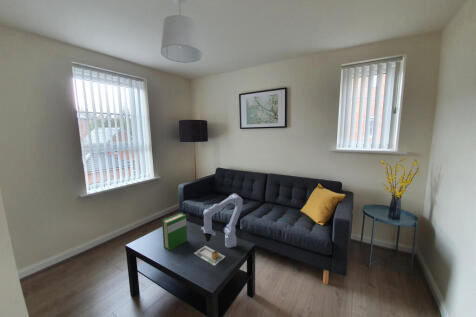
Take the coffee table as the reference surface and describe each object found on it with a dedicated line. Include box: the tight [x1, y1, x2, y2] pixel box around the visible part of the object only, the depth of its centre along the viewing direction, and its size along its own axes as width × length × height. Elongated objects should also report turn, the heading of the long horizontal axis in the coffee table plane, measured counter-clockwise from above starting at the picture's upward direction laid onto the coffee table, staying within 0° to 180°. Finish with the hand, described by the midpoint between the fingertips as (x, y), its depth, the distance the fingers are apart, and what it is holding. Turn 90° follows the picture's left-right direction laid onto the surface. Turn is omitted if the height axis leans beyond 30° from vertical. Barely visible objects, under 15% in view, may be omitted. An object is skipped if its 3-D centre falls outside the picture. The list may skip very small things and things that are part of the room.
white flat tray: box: [193, 245, 226, 267], centre depth 145 cm, size 12×22×2 cm, turn 53°
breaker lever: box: [212, 249, 219, 260], centre depth 141 cm, size 4×3×5 cm
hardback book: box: [161, 212, 188, 252], centre depth 159 cm, size 18×7×24 cm, turn 141°
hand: (208, 241), depth 148 cm, fingers closed
